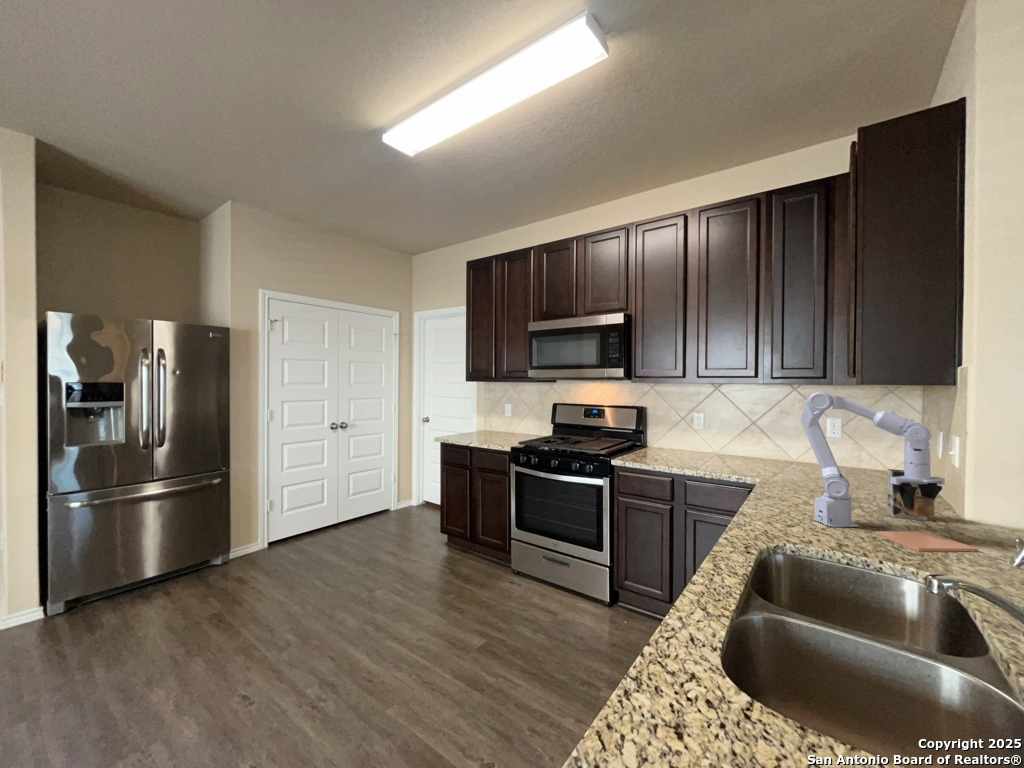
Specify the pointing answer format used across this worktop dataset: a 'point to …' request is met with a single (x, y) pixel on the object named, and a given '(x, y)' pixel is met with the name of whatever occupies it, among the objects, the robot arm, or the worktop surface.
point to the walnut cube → (921, 506)
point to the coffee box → (899, 498)
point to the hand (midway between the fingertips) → (917, 508)
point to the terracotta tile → (925, 541)
